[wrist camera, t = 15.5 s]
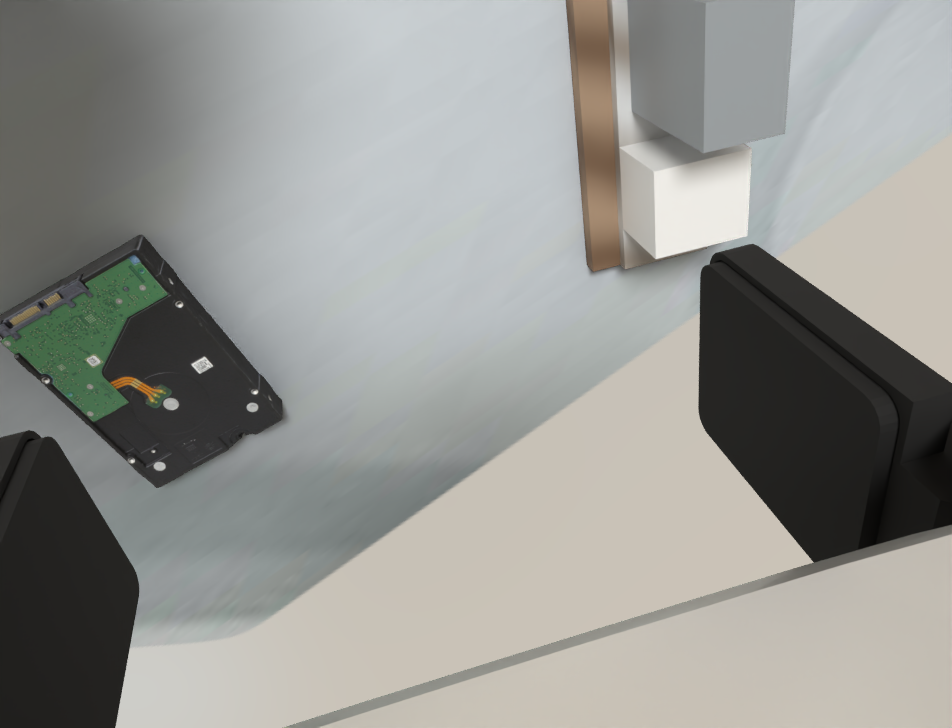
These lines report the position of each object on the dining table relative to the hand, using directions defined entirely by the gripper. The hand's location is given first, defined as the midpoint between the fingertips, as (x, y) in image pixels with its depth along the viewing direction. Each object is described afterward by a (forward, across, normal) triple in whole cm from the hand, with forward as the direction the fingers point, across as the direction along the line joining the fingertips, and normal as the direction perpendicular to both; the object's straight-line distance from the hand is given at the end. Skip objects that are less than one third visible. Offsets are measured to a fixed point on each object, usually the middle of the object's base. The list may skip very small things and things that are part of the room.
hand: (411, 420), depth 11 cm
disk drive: (+37, +15, +17) cm, 43 cm away
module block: (+34, -20, +4) cm, 40 cm away
